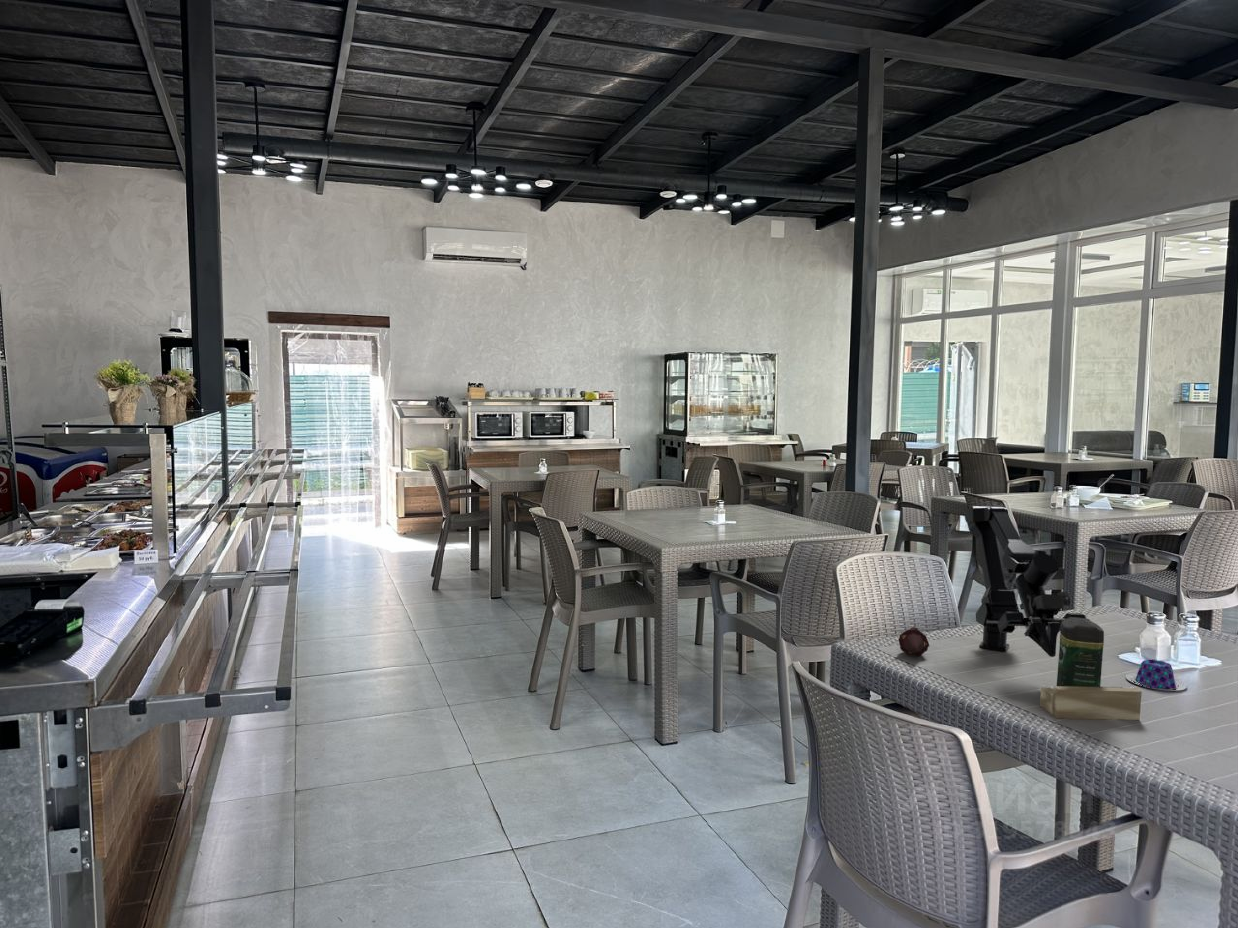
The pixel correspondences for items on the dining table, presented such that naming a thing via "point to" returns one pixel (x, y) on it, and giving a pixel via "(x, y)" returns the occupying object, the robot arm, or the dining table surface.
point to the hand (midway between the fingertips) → (1053, 656)
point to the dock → (1092, 702)
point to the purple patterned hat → (1156, 675)
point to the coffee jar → (1080, 653)
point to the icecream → (913, 642)
